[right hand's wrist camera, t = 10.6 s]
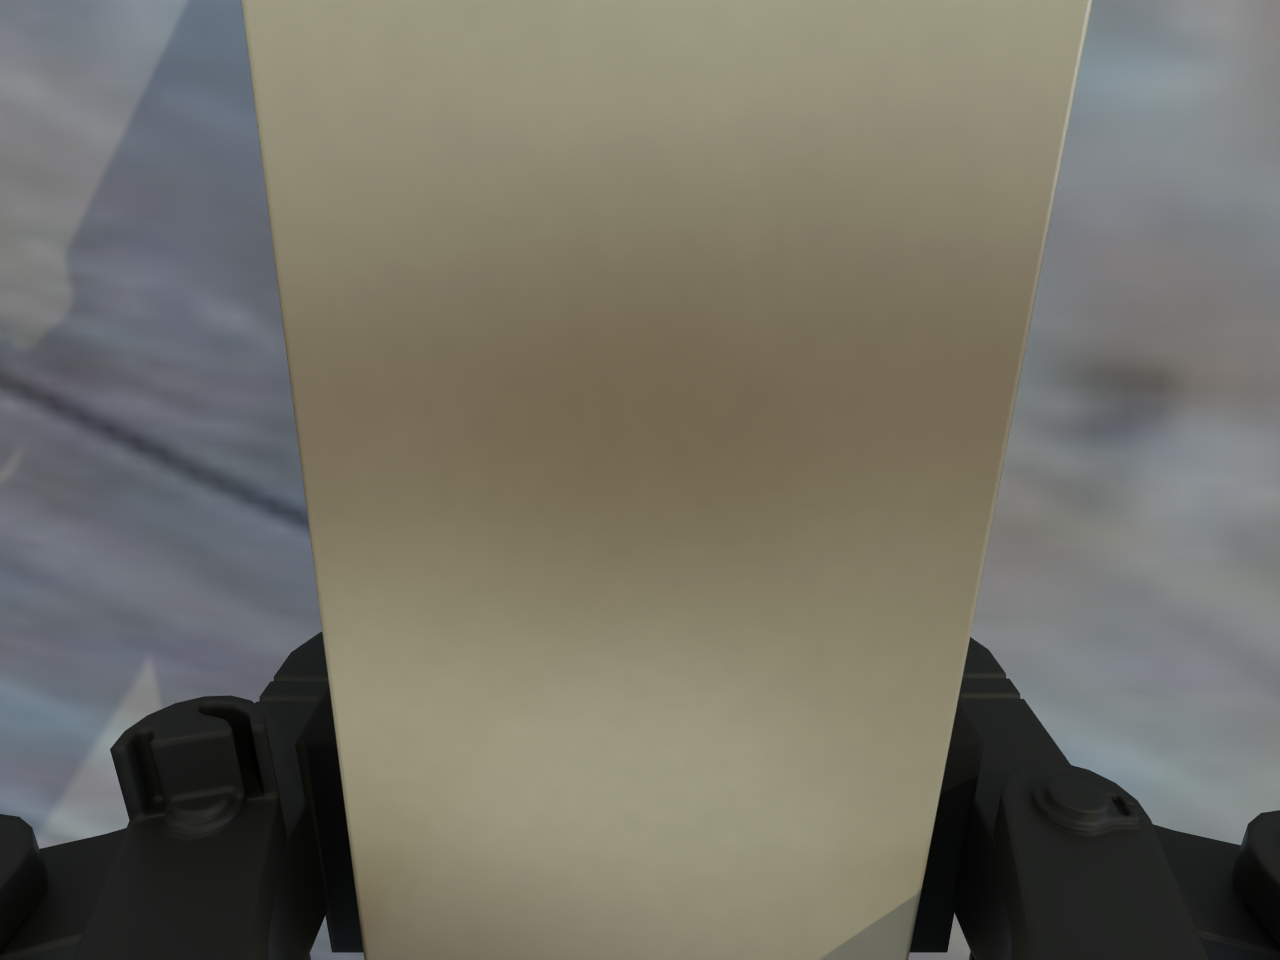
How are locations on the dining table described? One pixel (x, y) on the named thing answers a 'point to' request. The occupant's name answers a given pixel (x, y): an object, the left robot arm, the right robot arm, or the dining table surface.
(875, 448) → the plank
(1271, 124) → the dining table surface
